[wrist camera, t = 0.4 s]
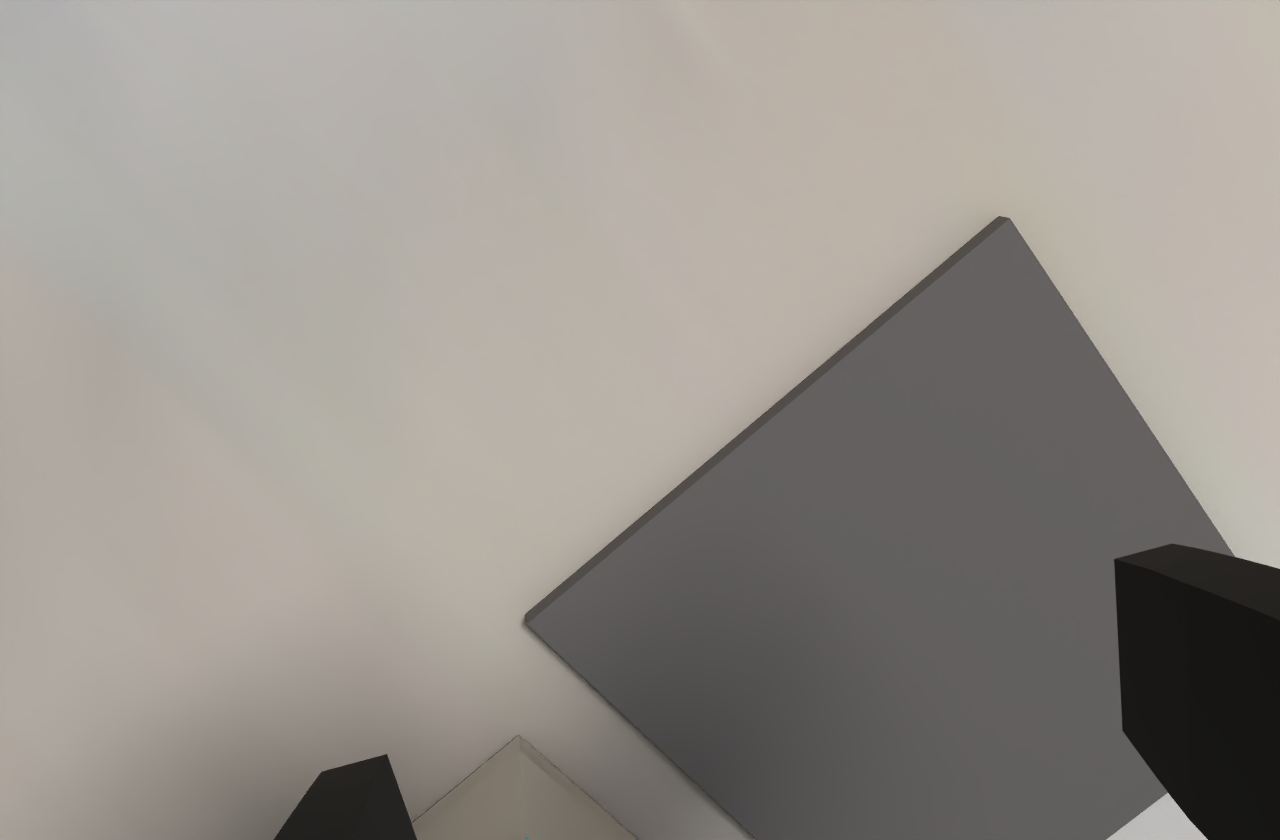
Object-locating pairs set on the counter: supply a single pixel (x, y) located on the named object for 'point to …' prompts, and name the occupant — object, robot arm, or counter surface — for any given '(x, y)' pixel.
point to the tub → (517, 804)
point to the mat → (901, 581)
